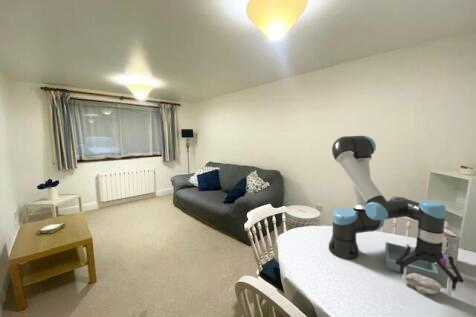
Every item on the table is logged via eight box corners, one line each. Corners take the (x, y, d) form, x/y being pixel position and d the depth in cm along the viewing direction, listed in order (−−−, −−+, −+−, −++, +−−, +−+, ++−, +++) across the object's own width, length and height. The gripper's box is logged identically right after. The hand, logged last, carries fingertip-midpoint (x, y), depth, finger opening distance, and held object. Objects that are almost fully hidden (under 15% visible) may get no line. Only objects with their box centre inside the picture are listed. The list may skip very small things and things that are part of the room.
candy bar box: (427, 253, 106) (430, 225, 104) (438, 254, 105) (441, 225, 103) (444, 267, 95) (448, 235, 93) (457, 268, 94) (460, 236, 92)
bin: (385, 268, 96) (386, 259, 95) (385, 250, 110) (385, 242, 110) (437, 284, 85) (438, 273, 85) (429, 261, 100) (430, 252, 99)
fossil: (434, 296, 76) (406, 271, 84) (425, 304, 79) (399, 280, 87) (446, 287, 79) (419, 264, 87) (437, 295, 82) (412, 273, 90)
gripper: (390, 234, 84) (387, 280, 87) (480, 254, 70) (473, 308, 72) (390, 227, 90) (387, 270, 93) (472, 244, 76) (466, 294, 78)
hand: (425, 287), depth 82 cm, fingers open, 13 cm apart
